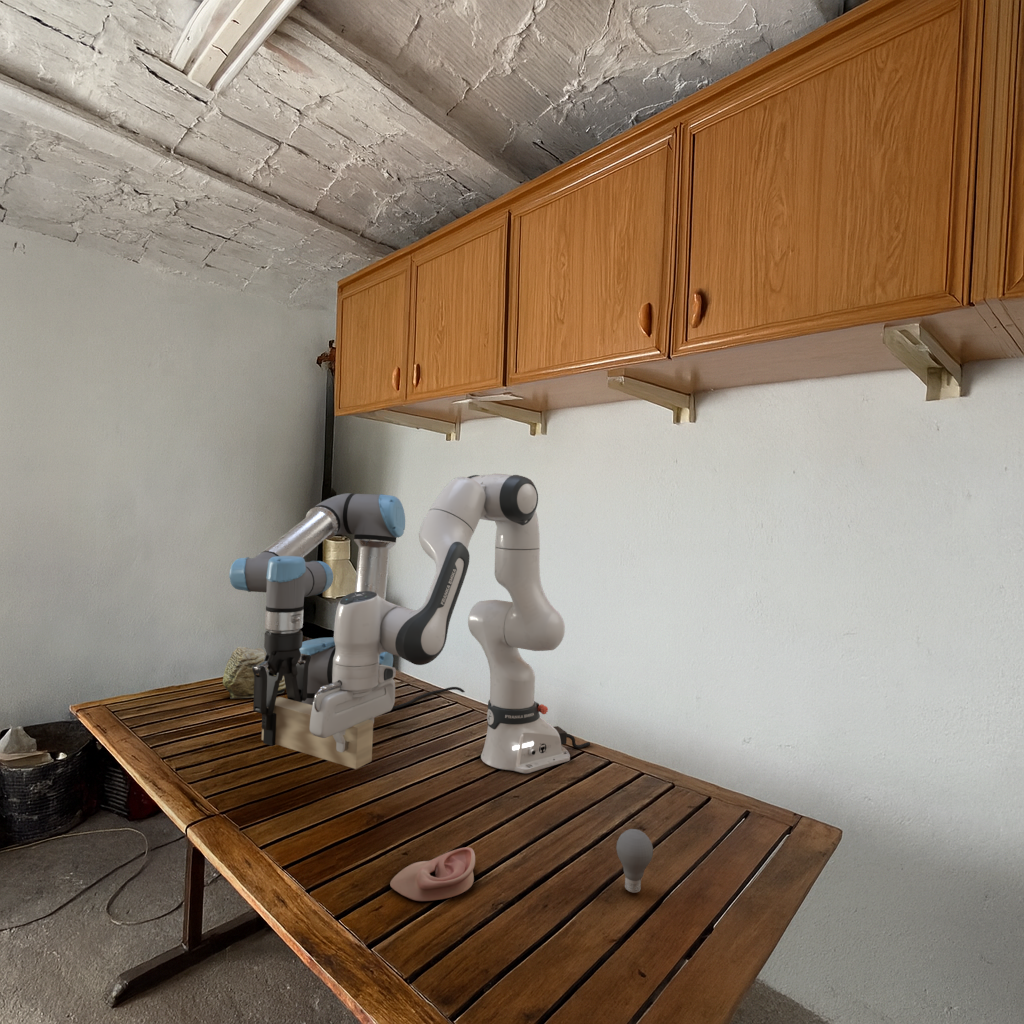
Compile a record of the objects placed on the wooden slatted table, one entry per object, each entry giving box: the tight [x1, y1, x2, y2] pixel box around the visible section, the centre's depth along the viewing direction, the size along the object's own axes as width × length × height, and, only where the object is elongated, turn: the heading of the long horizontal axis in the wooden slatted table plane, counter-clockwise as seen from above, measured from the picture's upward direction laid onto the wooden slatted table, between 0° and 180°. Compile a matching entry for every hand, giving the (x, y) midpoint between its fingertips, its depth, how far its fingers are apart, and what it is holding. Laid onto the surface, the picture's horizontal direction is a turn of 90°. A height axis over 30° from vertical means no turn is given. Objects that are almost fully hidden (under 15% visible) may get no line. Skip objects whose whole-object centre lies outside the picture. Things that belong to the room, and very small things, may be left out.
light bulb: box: [615, 828, 654, 894], centre depth 106 cm, size 6×6×10 cm
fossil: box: [222, 646, 286, 699], centre depth 198 cm, size 9×18×15 cm, turn 132°
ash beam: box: [261, 696, 374, 770], centre depth 129 cm, size 26×4×8 cm, turn 62°
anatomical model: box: [389, 846, 476, 902], centre depth 106 cm, size 13×4×12 cm
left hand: (279, 739), depth 133 cm, fingers closed on ash beam, 5 cm apart
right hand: (353, 745), depth 124 cm, fingers closed on ash beam, 4 cm apart
